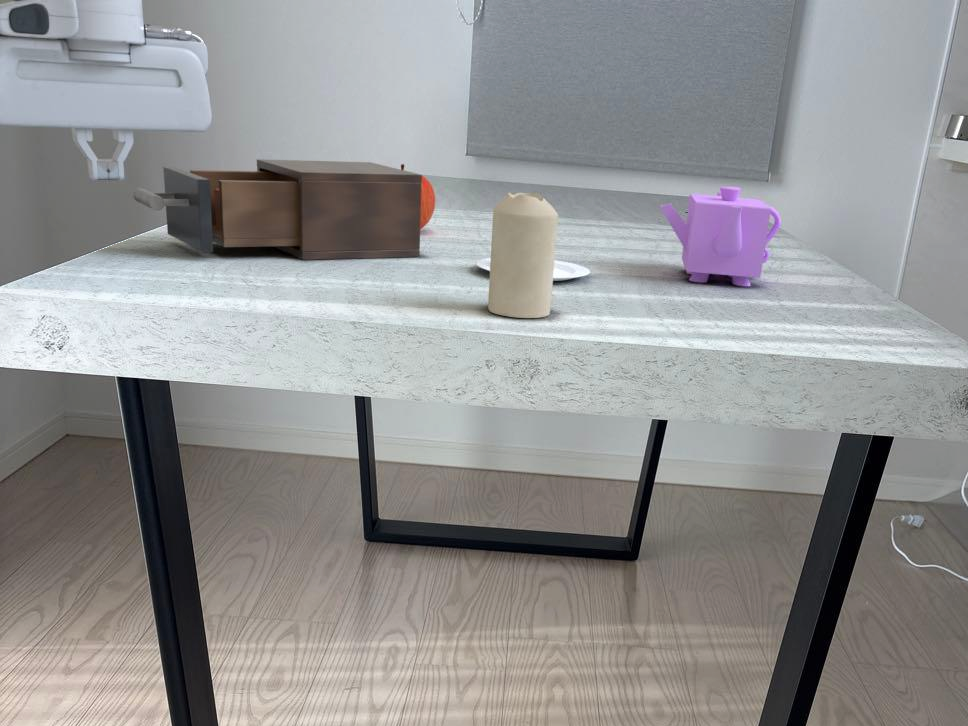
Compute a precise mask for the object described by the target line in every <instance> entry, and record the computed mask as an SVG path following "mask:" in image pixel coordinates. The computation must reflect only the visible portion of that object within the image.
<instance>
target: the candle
mask: <svg viewBox="0 0 968 726" xmlns="http://www.w3.org/2000/svg"><path fill="white" fill-rule="evenodd" d="M558 221H559V213H558V212H557V210H556V209H555V208H554V207H553V205H551V204H550V203H549V202H548V201H547V200H546V199H545V198H544V197H543V196H541V195H540V194H539V193H537V192H531V193H530V192H529V193H526V192H517V193H515V194H512V193H511V192H507V194H506V195H505V196H504V197H503V198H502V199H501V201H500V202H498V204H497V205H496V206H495V207H494V208H493V210H492V225H491V226H492V228H491V244H490V245H491V248H490V258H491V261H490V272H489V281H488V301H487V303H488V304H487V306H488V307H487V308H488V311H489V312H490V313H493V314H495V315H499V316H502V317H504V316H505V317H508V318H518V319H519V318H520V319H538V318H539V319H540V318H545V317H547V316H549V315H550V313H551V308H552V296H553V284H554V283H553V282H554V281H553V273H554V260H556V246H557V232H558Z"/></svg>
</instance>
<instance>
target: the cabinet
mask: <svg viewBox="0 0 968 726" xmlns="http://www.w3.org/2000/svg"><path fill="white" fill-rule="evenodd" d="M256 171H269V172H275V173H278V174H282V175H285V176H288V177H291V178H295V179H298V180H299V232H300V246H272V247H273V248H275V249H278V250H280V251H283V252H284V253H287V254H289V255H291V256H292V257H293V256H294V257H295V258H298V259H301V260H302V261H311V260H313V261H314V260H348V259H349V260H350V259H352V260H353V259H383V258H384V259H388V258H420V253H421V251H420V249H421V229H420V220H421V184H422V183H421V182H422V176H423V175H422V174H420V173H416V172H413V171H407V170H405V169H404V170H401V168H400V169H399V168H396V167H392V166H388V165H383V164H380V163H379V164H378V163H376V162H370V161H369V162H368V161H333V160H332V161H331V160H298V159H297V160H294V159H263V158H262V159H258V158H257V159H256Z"/></svg>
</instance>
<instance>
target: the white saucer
mask: <svg viewBox="0 0 968 726" xmlns="http://www.w3.org/2000/svg"><path fill="white" fill-rule="evenodd" d="M490 261H491V257H485V258H482V259H479V260H477V261H476V262H475V264H476V266H477V267H479V268H480V269H482V270H485V271H488V272H489V273H490ZM590 273H591V270H590V269H589V268H587V267H585V266H583V265H580V264H576V263H573V262H569V261H568V262H567V261H563V260H557V259H555V260H554V273H553V282H559V281H561V282H562V281H567V280H568V281H569V280H572V279H575V278H582V277H585V276H587V275H589V274H590Z"/></svg>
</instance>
